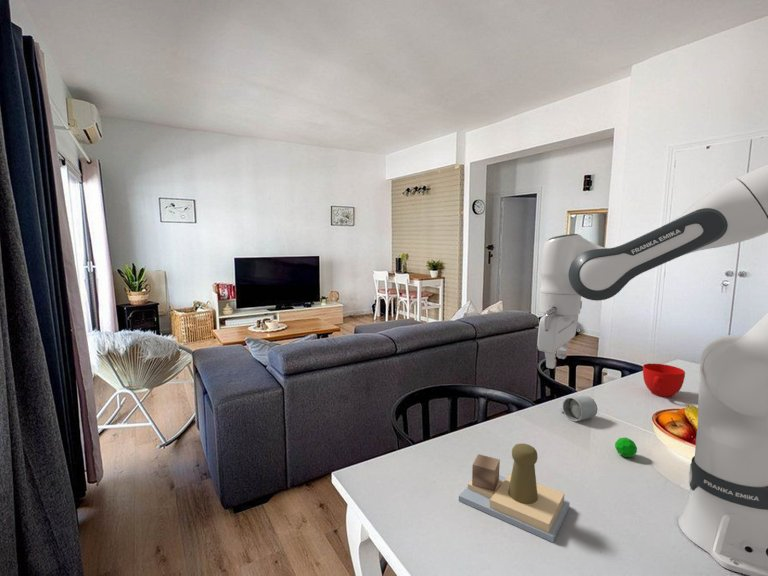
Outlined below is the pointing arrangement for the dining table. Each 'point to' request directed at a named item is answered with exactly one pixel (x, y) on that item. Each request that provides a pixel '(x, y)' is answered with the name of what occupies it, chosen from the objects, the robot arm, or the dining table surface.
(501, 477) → the base board
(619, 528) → the dining table surface
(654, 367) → the red bowl
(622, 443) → the polyhedron
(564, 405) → the ceramic mug
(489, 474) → the walnut cube
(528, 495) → the olive pawn
